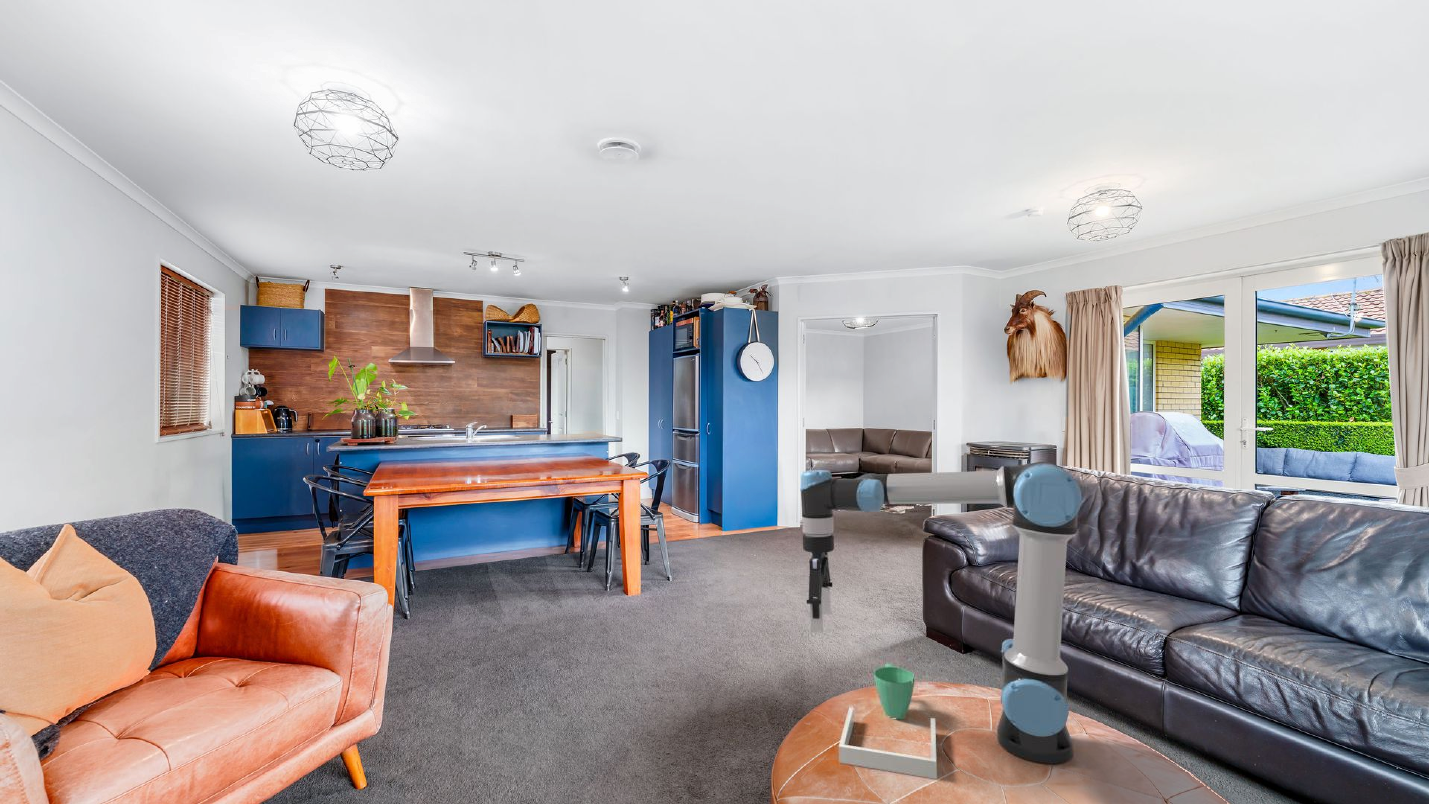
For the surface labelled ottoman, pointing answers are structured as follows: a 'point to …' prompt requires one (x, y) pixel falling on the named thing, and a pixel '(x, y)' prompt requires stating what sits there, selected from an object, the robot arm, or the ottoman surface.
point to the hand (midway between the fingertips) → (821, 622)
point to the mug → (894, 690)
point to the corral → (886, 755)
